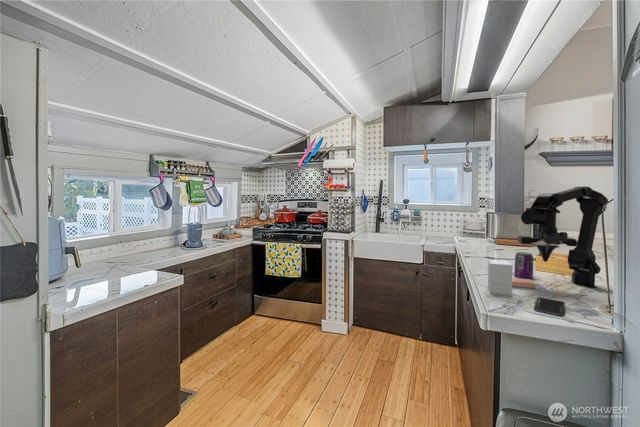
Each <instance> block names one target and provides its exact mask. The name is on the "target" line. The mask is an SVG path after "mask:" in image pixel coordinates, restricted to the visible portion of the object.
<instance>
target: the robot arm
mask: <svg viewBox="0 0 640 427" xmlns="http://www.w3.org/2000/svg"><path fill="white" fill-rule="evenodd" d="M572 200H575V201H576V202H577V203H578V204H579V209H580V211H581V213H582V219H581V223H580V228H579V233H578V238H577V239H576V238H573V237H569V236H568V235H569V234H568V232H566V231H560V232H558V227H557V214H560V213H561V210H559V209H558V207H561V206H562V205H563V204H564V203H565V202H568V201H572ZM607 202H608V203H609V199H608V198H607V197H606V196H605V195H604V194H603V193H601V192H599V191H596V190H593V188H592V187H591V186H586V185H585V186H575V187H573V188H569V189H566V190H563V191H558V192H555V193H552V192H551V193H539V194H537V197H536V198H535V200H534V202H532V204H531V205H530V207H526V208H525V211H523V212H522V213H521V215H520V220H521V222H522V223H523V224H524V225H528V226H529V225H530V226H531V225H536V229H537V235H536V237H532V236H529V235H519V236H517V243H520V244H522V245H532V244H533V245H534V246H535V247H536V248H537V249H538V252H539V253H540V255H541V258H542V260H543V262H544V263H546V262H548V261H549V259H550V257H551V254H552V253H553V252H554V250H555V249H556V248H557V249H559V248H560V245H562V244H563V245H566V246H567V247H573V249H569V251H568V255H567V257H566V258H567V263H568V268H569V270H573V271H572V273H571V283H572V284H575V285H577V286H580V287H581V286H583V287H585V288H595V289H596V288H598V286H597V285H596V284H595V283H596V282H595V281H596V275H599V274H600V272H601V269H602V268H601V267H600V265H599V264H598V263H597V262H596V254H595V253H594V251H593V245H594V241H595V237H596V232H597V231H596V230H597V226H598V223H599V217H600V216H601V215H602V214H603V213H602V209H603V206H604V205H605V204H606V203H607ZM607 207H608V205H607V206H606V207H605V209H604V212H605V211H607Z"/></svg>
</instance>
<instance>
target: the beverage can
mask: <svg viewBox="0 0 640 427" xmlns="http://www.w3.org/2000/svg"><path fill="white" fill-rule="evenodd" d="M513 274H514V275H513V276H514V277H516V278H517V279H530V280H532V279H533V278H534V256H533V253H531V252H525V251H523V252H522V251H518V252H516V254H515V256H514V273H513Z"/></svg>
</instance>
